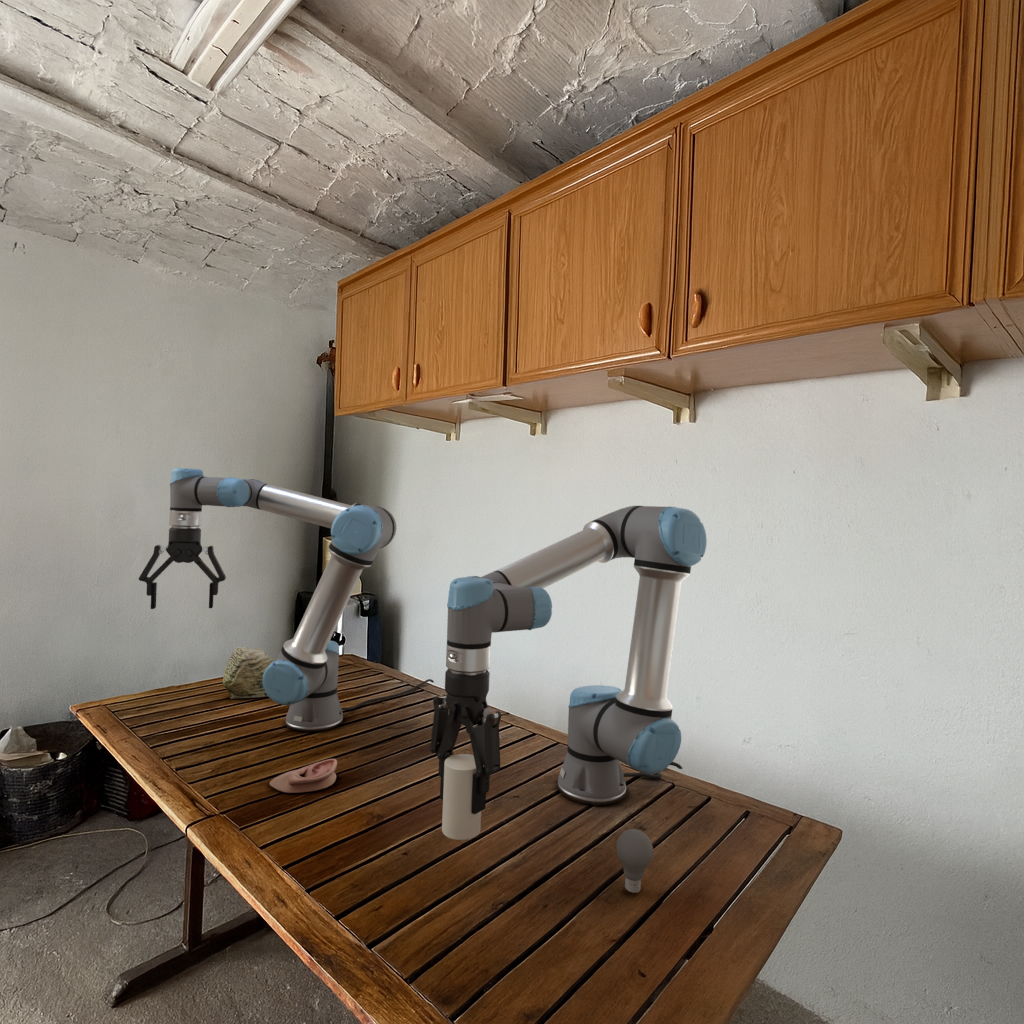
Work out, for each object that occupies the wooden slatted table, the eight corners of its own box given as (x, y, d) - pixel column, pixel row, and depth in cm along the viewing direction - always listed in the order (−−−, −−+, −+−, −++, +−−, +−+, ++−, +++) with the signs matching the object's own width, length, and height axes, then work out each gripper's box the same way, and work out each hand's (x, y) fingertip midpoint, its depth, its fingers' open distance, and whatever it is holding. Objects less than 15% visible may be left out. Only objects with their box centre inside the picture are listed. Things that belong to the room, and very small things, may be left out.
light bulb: (610, 879, 108) (613, 822, 108) (644, 879, 109) (647, 822, 109) (619, 902, 102) (622, 840, 102) (655, 901, 103) (658, 840, 103)
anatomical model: (261, 770, 135) (291, 750, 147) (261, 789, 136) (290, 767, 147) (318, 779, 133) (344, 757, 144) (318, 797, 133) (343, 775, 144)
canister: (461, 844, 103) (464, 773, 103) (433, 830, 108) (436, 761, 107) (488, 829, 108) (491, 761, 108) (460, 816, 113) (463, 750, 112)
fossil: (218, 695, 195) (220, 647, 195) (278, 685, 208) (279, 640, 207) (228, 703, 189) (230, 653, 188) (289, 692, 201) (290, 645, 201)
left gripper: (127, 526, 158) (124, 611, 159) (235, 529, 167) (232, 609, 167) (134, 525, 165) (131, 605, 166) (238, 527, 174) (235, 604, 174)
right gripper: (411, 662, 111) (406, 792, 111) (498, 686, 98) (492, 832, 99) (442, 655, 116) (437, 778, 117) (527, 676, 104) (521, 815, 105)
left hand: (182, 607), depth 166 cm, fingers open, 13 cm apart
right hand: (462, 803), depth 108 cm, fingers closed on canister, 7 cm apart
